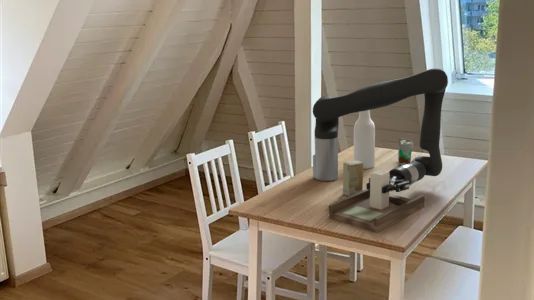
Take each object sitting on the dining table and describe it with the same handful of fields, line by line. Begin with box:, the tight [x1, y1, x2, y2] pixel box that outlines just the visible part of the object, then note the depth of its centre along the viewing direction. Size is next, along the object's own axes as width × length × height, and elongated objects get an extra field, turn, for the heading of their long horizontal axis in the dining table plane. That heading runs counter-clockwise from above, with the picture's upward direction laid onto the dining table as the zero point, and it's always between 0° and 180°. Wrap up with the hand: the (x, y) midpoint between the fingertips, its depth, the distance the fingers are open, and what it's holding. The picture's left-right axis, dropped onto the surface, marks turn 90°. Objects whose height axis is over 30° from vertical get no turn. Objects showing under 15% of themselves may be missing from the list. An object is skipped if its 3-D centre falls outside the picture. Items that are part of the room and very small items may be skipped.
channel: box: [328, 188, 426, 233], centre depth 190 cm, size 19×28×4 cm
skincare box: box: [342, 160, 364, 197], centre depth 208 cm, size 6×4×12 cm
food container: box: [397, 137, 414, 167], centre depth 243 cm, size 12×6×10 cm, turn 168°
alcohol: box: [353, 110, 376, 170], centre depth 239 cm, size 9×9×30 cm
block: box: [369, 169, 390, 210], centre depth 189 cm, size 4×4×12 cm
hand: (375, 188), depth 187 cm, fingers open, 5 cm apart
